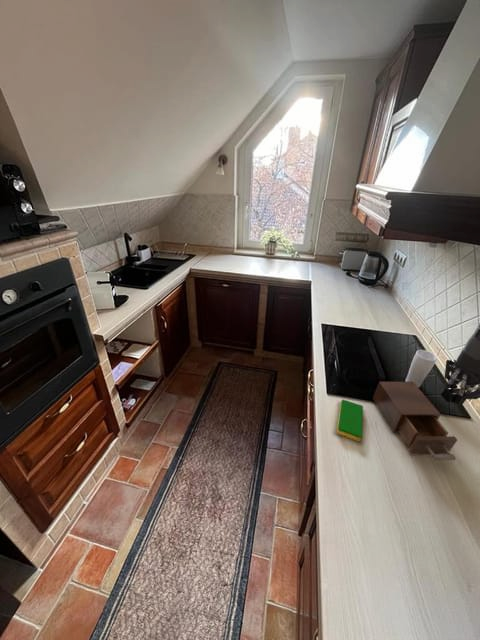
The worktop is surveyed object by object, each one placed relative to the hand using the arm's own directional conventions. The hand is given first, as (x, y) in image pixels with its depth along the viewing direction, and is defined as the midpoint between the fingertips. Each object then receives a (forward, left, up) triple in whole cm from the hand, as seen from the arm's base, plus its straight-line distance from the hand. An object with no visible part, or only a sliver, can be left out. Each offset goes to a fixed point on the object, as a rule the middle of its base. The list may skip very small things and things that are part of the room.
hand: (452, 398), depth 77 cm
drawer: (+7, +4, -15) cm, 17 cm away
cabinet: (+7, -7, -15) cm, 18 cm away
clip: (0, 0, 0) cm, 0 cm away
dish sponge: (+26, -4, -16) cm, 31 cm away
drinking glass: (-7, -22, -16) cm, 28 cm away
